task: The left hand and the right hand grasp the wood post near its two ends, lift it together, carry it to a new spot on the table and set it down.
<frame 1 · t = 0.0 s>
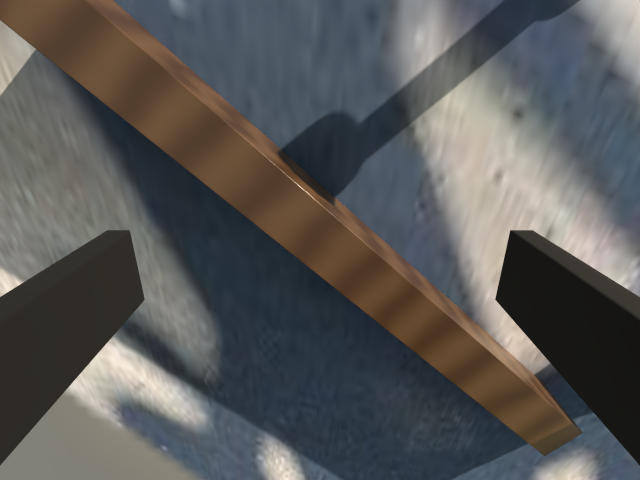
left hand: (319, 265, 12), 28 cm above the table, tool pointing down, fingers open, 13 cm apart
post: (350, 242, 42), on the table
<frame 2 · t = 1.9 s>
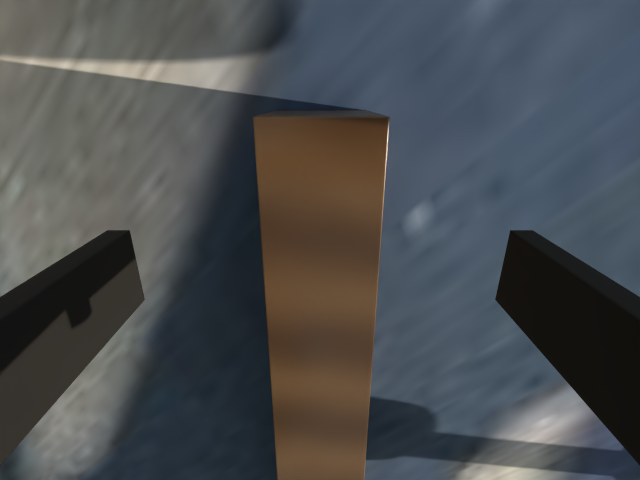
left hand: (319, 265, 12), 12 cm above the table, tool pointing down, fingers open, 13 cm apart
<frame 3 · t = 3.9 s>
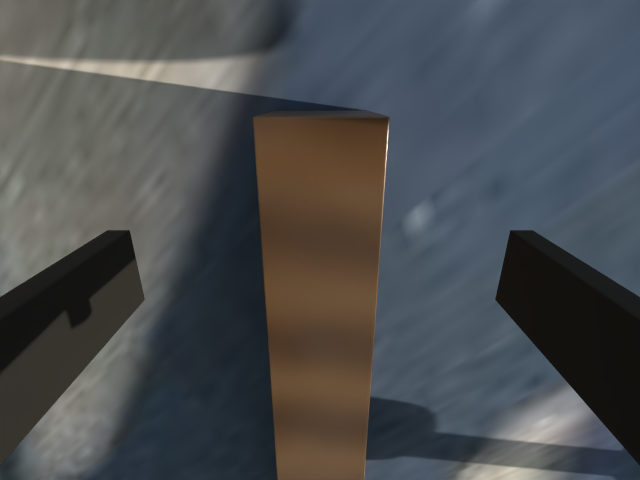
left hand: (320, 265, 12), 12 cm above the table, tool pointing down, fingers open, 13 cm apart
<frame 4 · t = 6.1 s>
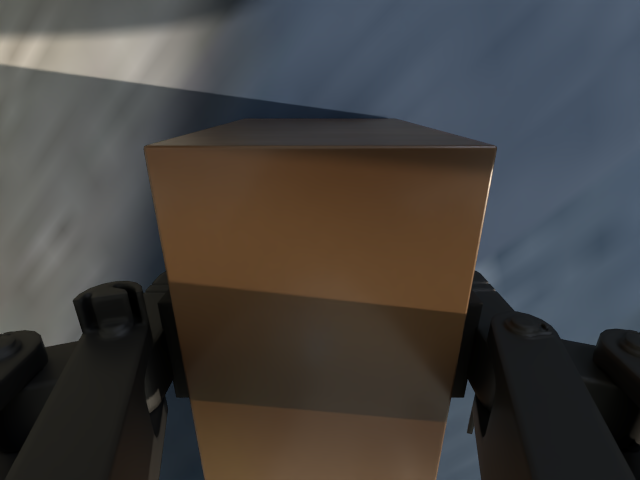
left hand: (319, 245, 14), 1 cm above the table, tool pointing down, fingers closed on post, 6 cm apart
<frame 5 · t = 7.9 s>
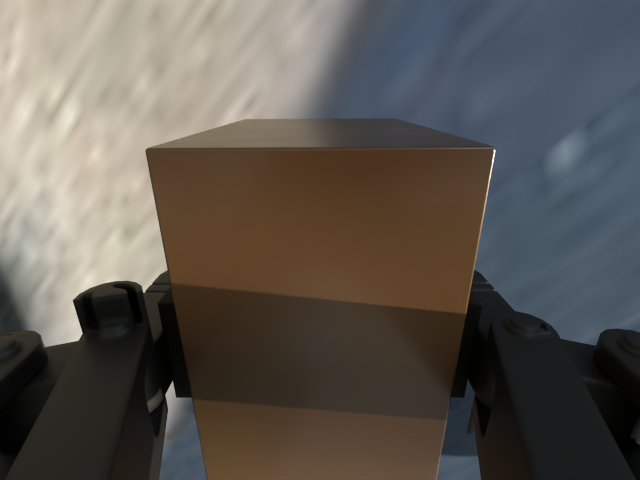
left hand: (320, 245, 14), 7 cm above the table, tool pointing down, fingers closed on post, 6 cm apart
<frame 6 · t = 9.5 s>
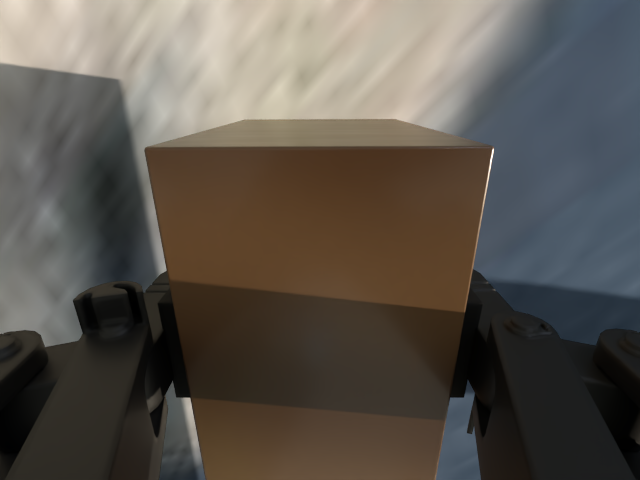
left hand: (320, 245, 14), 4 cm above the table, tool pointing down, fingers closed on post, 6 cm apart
when the left hand's fingers open (2 cm above the table, at t = 10.0 s): post drops 1 cm, on the table.
when the right hand's fingers open (4 cm above the table, at t = 10.2 s): post stays where it is, on the table.
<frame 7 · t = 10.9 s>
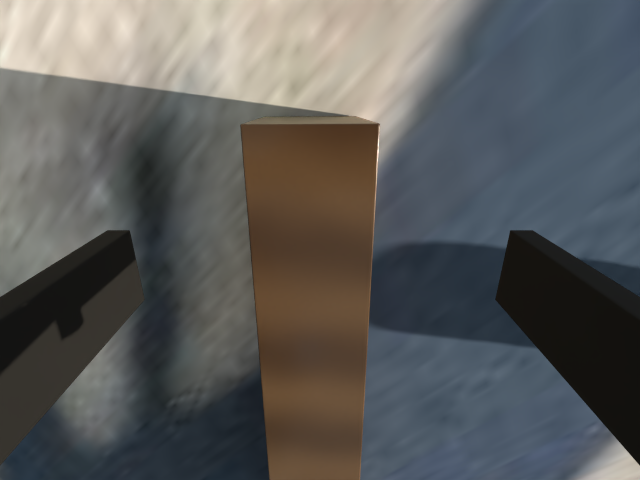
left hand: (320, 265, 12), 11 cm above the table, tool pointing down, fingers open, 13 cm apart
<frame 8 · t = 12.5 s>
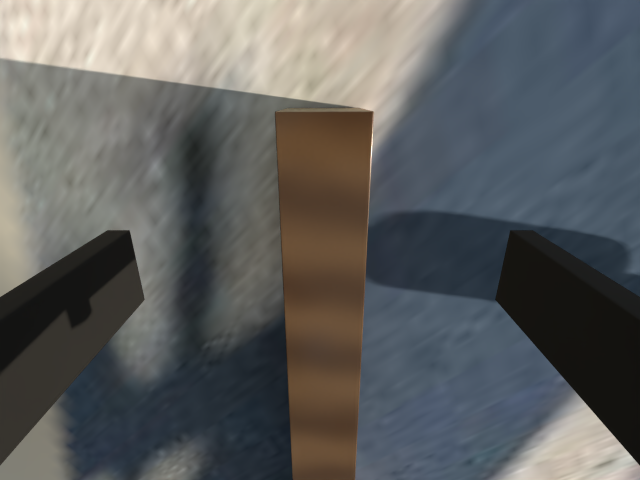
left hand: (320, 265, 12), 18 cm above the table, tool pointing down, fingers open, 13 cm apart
post: (323, 441, 41), on the table
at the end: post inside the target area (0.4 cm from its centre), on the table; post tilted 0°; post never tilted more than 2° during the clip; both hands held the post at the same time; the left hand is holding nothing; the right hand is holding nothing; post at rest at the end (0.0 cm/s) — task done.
